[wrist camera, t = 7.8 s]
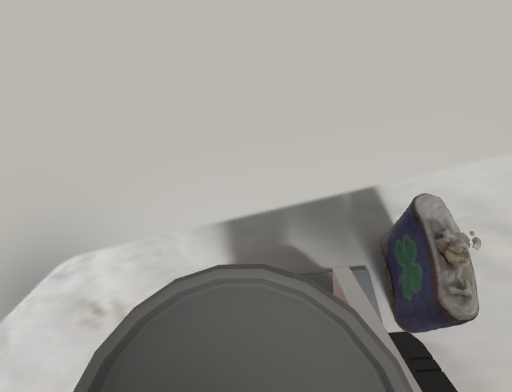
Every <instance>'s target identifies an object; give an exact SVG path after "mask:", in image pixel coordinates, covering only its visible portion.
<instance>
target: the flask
mask: <svg viewBox="0 0 512 392" xmlns="http://www.w3.org/2000/svg"><path fill="white" fill-rule="evenodd" d="M470 234H471V235H475V234H474V232H473V231H470ZM469 241H470V239H469V238H468V237H467V236H466V234H465V233H460V231H459V228H458V227H457V225H456V223H455V221H454V220H453V218H452V215H451V213H450V211H449V210H448V209H447V207H446V206H445V203H444V202H443V201H442V200H441V199H440V198H439V197H436V196H434V195H431V194H426V193H424V194H421V195H418V196H416V197H415V198H414V199H413V201H412V202H411V204H410V205H409V207H408V208H407V209H406V211H405V212H404V213H403V215H402V216H401V217H400V219H399V220H398V221H397V222H396V223H395V225H394V226H393V227H392V228H391V229H390V231H389V232H388V233H387V234H386V235H385V236H384V237H383V239H382V255H384V257H385V261H386V275H387V279H388V281H390V284H391V285H392V290H391V291H390V293H391V294H392V296H393V299H394V302H393V305H392V306H393V309H394V319H395V321H396V323H397V324H398V325H399V327H401V328H402V329H403V331H404V332H406V331H408V332H411V333H418V332H427V331H430V330H436V329H439V328H446V327H451V326H455V325H461V324H464V323H466V322H468V321H471V320H473V319H474V318H475V317H476V316H477V315H478V310H479V302H478V296H477V287H476V280H475V275H474V270H473V266H472V262H471V259H470V253H469V252H468V248H469V247H470V243H469ZM472 241H473V244H474V245H473V246H472V247H473V248H475V249H476V250H477V249H479V248H480V247H481V240H480V239H479V238H477V237H475V238H473V239H472Z"/></svg>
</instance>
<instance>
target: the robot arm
mask: <svg viewBox="0 0 512 392" xmlns="http://www.w3.org/2000/svg"><path fill="white" fill-rule="evenodd" d="M332 274H333V293H334V295H335V296H336V297H337V298H339V299H340V300H342V301H343V302H345V303H346V304H348V305H349V306H351V307H352V308H353V309H355V310H356V311H357V313H358V314H359V315H360V316H361V317H362V319H363V320H364V321H365V322H366V323H367V324H368V326H369V327H370V328H371V329H372V330H373V332H374V333H375V334H376V335H377V336H378V337H379V339H380V340H381V341H382V342H383V343H384V344H385V346H386V347H387V348H388V349H389V350H390V352H391V353H392V354H393V355H394V356H395V357H396V359H397V360H398V362H399V364H400V366H401V368H402V370H403V372H404V374H405V376H406V378H407V380H408V382H409V384H410V386H411V388H412V390H413V392H458V391H457V390H456V389H455V387H454V386H453V385H452V383H451V382H450V380H449V379H448V378H447V376H446V375H445V373H444V372H442V370H441V368H440V367H439V365H438V364H437V362H436V361H435V360H433V357H432V355H431V354H430V353H429V351H428V350H427V349H426V347H425V346H424V344H423V343H422V342H421V341H419V340H418V339H417V338H415V337H414V336H413V335H412V334H410V333H409V332H393V333H387V331H386V329H385V328H384V326H383V324H382V322H381V321H380V319H379V317H378V316H377V314H376V312H375V310H374V309H373V307H372V305H371V304H370V302H369V300H368V299H367V297H366V295H365V293H364V292H363V290H362V288H361V287H360V285H359V283H358V281H357V280H356V278H355V276H354V275H353V273H352V271H351V270H350V268H349V267H338V268H332Z"/></svg>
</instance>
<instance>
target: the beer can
mask: <svg viewBox="0 0 512 392" xmlns="http://www.w3.org/2000/svg"><path fill="white" fill-rule="evenodd" d="M73 392H413V390H412V388H411V386H410V384H409V382H408V380H407V378H406V376H405V374H404V372H403V370H402V368H401V366H400V364H399V362H398V360H397V359H396V357H395V356H394V355H393V354H392V353H391V352H390V350H389V349H388V348H387V347H386V346H385V344H384V343H383V342H382V341H381V340H380V339H379V337H378V336H377V335H376V334H375V333H374V332H373V330H372V329H371V328H370V327H369V326H368V324H367V323H366V322H365V321H364V320H363V319H362V317H361V316H360V315H359V314H358V313H357V311H356V310H355V309H353V308H352V307H351V306H349V305H348V304H346V303H345V302H343V301H342V300H340V299H339V298H337V297H336V296H335V295H333V294H332V293H330V292H329V291H327V290H326V289H324V288H323V287H321V286H320V285H318V284H317V283H316V282H314V281H313V280H311V279H309V278H306V277H303V276H300V275H297V274H293V273H290V272H287V271H284V270H281V269H277V268H274V267H271V266H268V265H265V264H251V265H217V266H214V267H211V268H208V269H205V270H202V271H199V272H196V273H193V274H190V275H187V276H184V277H181V278H178V279H175V280H174V281H172V282H171V283H169V284H168V285H166V286H165V287H164V288H162V289H161V290H159V291H158V292H156V293H155V294H153V295H152V296H150V297H149V298H147V299H146V300H145V301H143V302H142V303H140V304H139V305H137V306H136V307H134V308H133V309H132V311H131V312H130V313H129V314H128V315H127V316H126V317H125V318H124V320H123V321H122V322H121V323H120V324H119V325H118V326H117V328H116V329H115V330H114V331H113V332H112V333H111V334H110V335H109V337H108V338H107V339H106V340H105V341H104V342H103V343H102V345H101V346H100V347H99V348H98V349H97V350H96V351H95V353H94V355H93V357H92V358H91V360H90V362H89V364H88V366H87V368H86V369H85V371H84V373H83V375H82V377H81V378H80V380H79V382H78V384H77V386H76V387H75V389H74V391H73Z"/></svg>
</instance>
